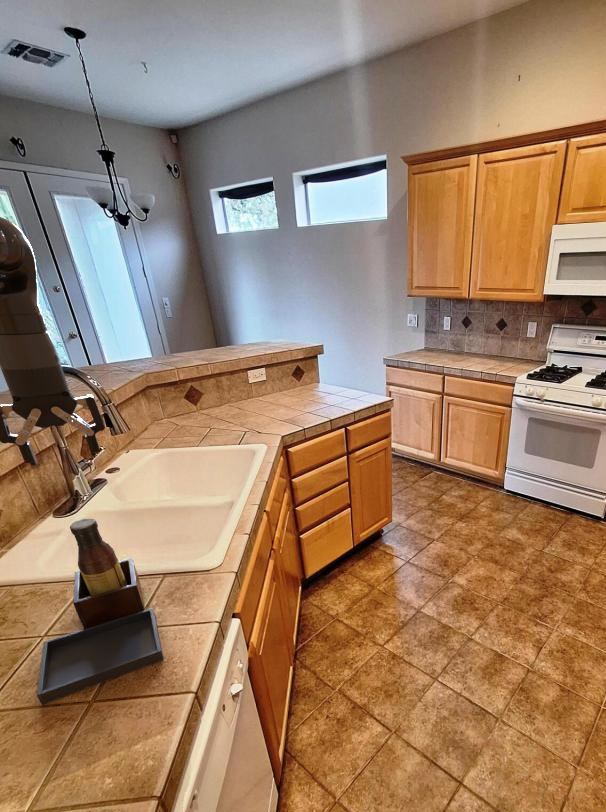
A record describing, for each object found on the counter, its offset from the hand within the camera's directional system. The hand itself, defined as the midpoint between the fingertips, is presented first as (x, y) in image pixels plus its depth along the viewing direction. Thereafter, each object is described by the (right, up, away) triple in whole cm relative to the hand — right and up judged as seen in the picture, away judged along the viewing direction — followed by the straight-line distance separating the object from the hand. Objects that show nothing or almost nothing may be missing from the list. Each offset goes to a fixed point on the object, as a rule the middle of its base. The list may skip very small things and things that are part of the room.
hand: (65, 459), depth 75 cm
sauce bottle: (0, -29, +13) cm, 32 cm away
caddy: (0, -29, +13) cm, 31 cm away
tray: (+6, -35, +1) cm, 35 cm away
